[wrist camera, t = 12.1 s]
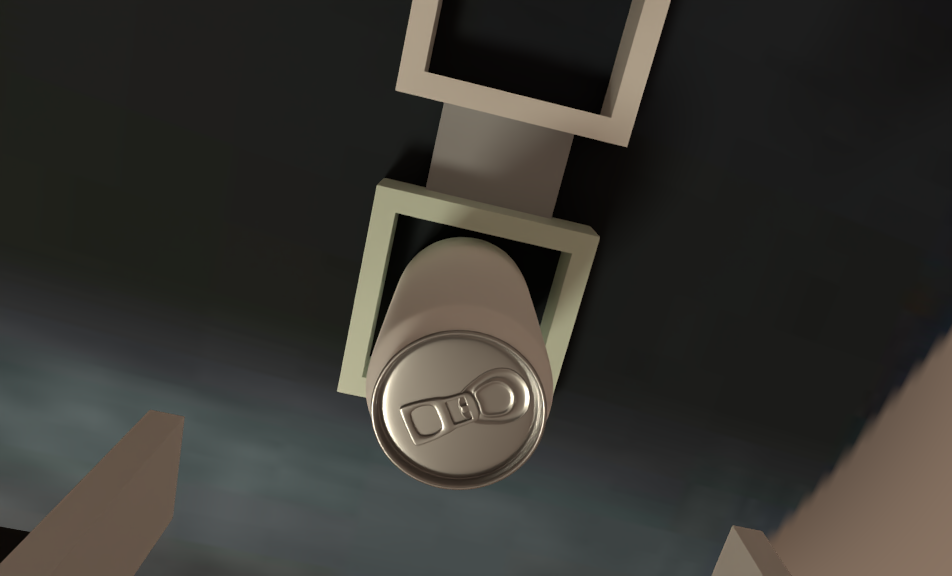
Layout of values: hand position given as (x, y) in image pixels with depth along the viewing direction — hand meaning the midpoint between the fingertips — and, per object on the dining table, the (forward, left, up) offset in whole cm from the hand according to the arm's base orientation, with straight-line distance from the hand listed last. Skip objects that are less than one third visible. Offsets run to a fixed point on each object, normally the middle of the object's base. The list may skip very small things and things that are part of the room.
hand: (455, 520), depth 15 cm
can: (0, 0, -18) cm, 18 cm away
